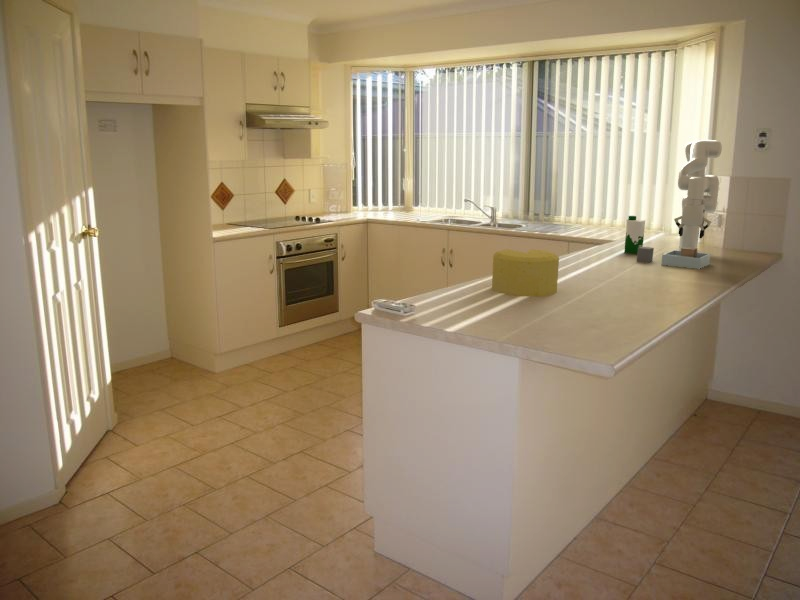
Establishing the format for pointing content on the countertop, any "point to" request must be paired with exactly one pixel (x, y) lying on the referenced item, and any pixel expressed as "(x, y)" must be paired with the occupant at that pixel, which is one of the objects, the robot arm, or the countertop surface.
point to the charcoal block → (645, 254)
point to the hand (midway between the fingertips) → (690, 236)
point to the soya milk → (634, 235)
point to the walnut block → (689, 252)
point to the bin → (685, 260)
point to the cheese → (525, 273)
